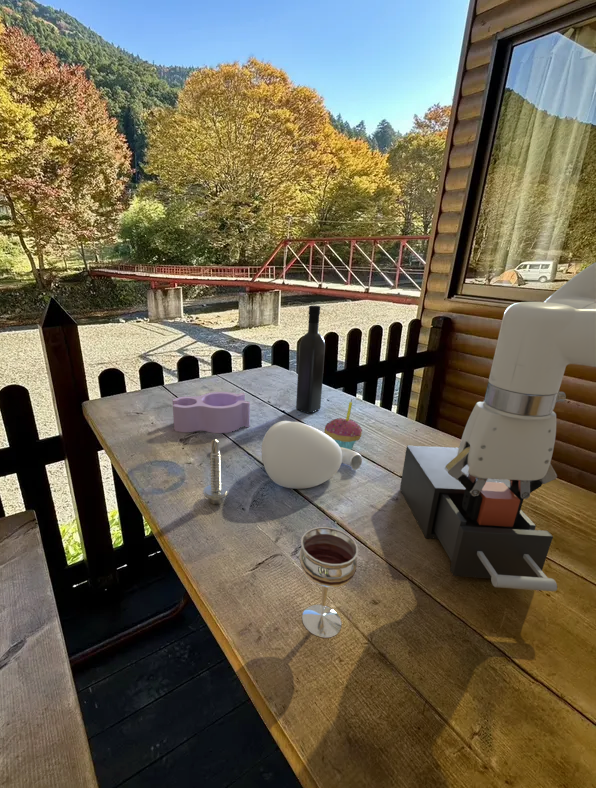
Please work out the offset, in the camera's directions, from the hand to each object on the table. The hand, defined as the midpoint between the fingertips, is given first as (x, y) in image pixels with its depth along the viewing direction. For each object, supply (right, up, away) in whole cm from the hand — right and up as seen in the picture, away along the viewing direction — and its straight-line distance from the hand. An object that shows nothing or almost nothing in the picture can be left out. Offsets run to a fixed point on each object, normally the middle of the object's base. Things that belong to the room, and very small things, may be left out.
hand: (488, 514), depth 60 cm
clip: (-43, +10, +51) cm, 67 cm away
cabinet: (+1, -4, +14) cm, 14 cm away
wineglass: (-26, -12, -7) cm, 30 cm away
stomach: (-23, +2, +29) cm, 37 cm away
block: (0, 0, 0) cm, 0 cm away
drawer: (0, -7, +2) cm, 7 cm away
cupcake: (-11, +5, +38) cm, 39 cm away
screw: (-40, -3, +18) cm, 44 cm away
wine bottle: (-14, +13, +61) cm, 64 cm away
